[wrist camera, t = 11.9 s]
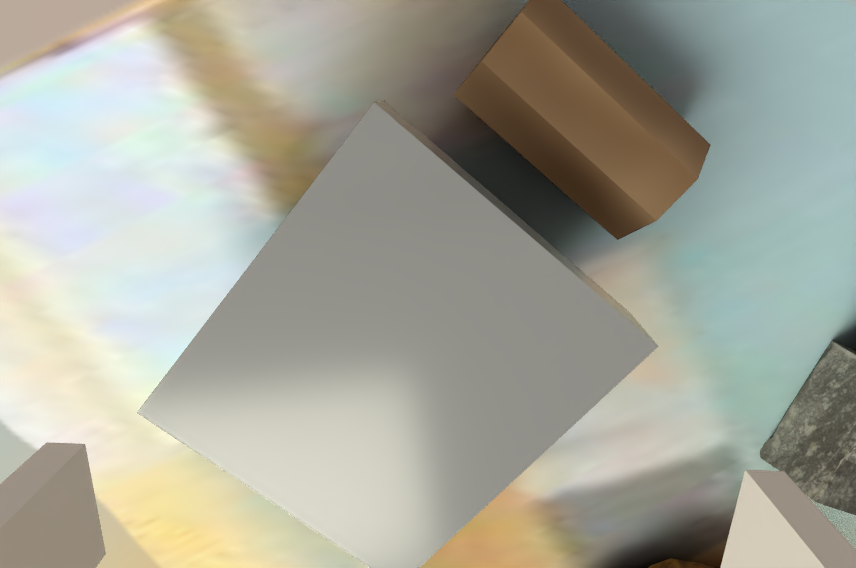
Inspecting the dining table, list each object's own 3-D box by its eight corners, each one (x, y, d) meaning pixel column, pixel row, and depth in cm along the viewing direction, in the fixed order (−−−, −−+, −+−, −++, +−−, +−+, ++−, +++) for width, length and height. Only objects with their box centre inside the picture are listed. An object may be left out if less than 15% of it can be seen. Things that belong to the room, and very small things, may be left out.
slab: (630, 312, 25) (658, 346, 22) (403, 531, 29) (398, 587, 26) (384, 101, 23) (374, 102, 19) (175, 373, 27) (136, 412, 24)
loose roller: (596, 221, 30) (628, 248, 25) (453, 94, 28) (454, 94, 23) (675, 138, 29) (728, 148, 23) (530, -2, 27) (550, -25, 22)
